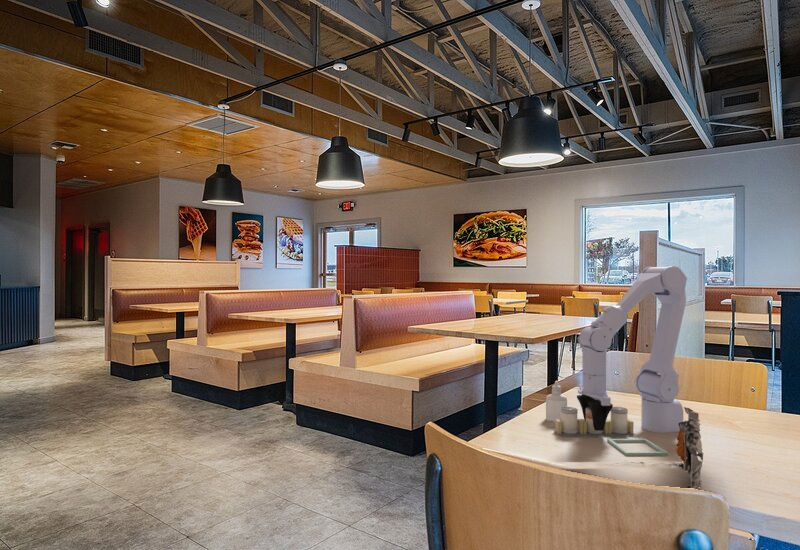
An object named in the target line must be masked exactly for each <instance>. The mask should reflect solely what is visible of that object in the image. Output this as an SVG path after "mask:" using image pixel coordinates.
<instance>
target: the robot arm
mask: <svg viewBox="0 0 800 550" xmlns="http://www.w3.org/2000/svg"><path fill="white" fill-rule="evenodd" d="M687 281H688V277H687V276H686V274H685V273H684V272H683V270H682V269H681V268H680V267H679V266H676V265H671V266H647V267H645V268H644V269H643V270H642V271H641V272H640V273H639V274H638V275H637V277H636V280H635V282H634V283H633V284H632V286H630V288H629V289H628V291H626V292H625V294H624V295H623V296H622V297H621V299H620V300H619V301H618V302H617V303H616V305H609V306H607V307H604V308H603V309H602V313H600V315H599V316H598V317H596V319H595V320H593V321H592V322H591V323H590V326H586V327H584V328H583V329H582V330H581V332H580V333H579V335H578V337H577V342H578V344H579V346H581V353H582V357H581V359H582V363H581V365H582V367H581V369H582V371H581V373H582V375H581V378H582V381H581V382H582V383H581V384H579V390H578V389H577V393H578V395H576V399H577V400H578V402H579V404H580V407H581V410H582V415H583V419H584V420H585V421H586V407H590V409H591V413H592V418H593V426H594V430H596V431H603V430H604V427H605V423H606V419H608V416H609V414H610V413H611V411H610V410H611V409H612V408H613V407H614V405H613V403H611V402H612V401H611V397H610V396H609V394H608V391H607V349H609V348H610V347H611V345H612V343H613V342H612V341H613V337H614V336H615V334H616V333H617V332H618V331H620V329H621V328H622V327H623V326H624V325H625V324H626V323H627V322H628V314H629V312H631V311H632V310H633V309H634V308H635V307H636V306H637V305H638V304H639V303H640V302H641V301H643V300H644V299H645V298H646V297H647V296H648V295H650V294H651V295H653V296H655V297H656V298H657V300H658V301H660V303H661V305H660V310H659V314H658V320H657V324H656V328H655V333H654V336H653V337H654V338H653V341H652V347H651V351H650V355H649V356H650V357H649V360H648V361H646V362H645V363H643V364H642V365H641V369H640V371H639V373H638V374H637V375H636V378H635V381H634V383H635V387H636V390H637V391H638V392H639V396H640V397H641V419H640V420H641V422H640V423H641V428H642V429H644V430H646V431H647V432H648V431H649V432H653V433H661V434H664V433H666V434H667V433H679V431H680V428H679V425H678V423H679V422H684V406H683V405H682V403H681V402H680V401H679V400H678V399H676V398H677V396H678V394H679V393H680V386H679V376H680V374H679V373H678V371H677V370H676V369H675V368H674V366H673V365H674V359H675V355H676V351H677V346H678V341H679V336H680V332H681V328H682V327H681V326H682V322H683V317H684V313H685V308H686V304H687V296H686V286H687Z"/></svg>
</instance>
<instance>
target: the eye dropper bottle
mask: <svg viewBox="0 0 800 550" xmlns="http://www.w3.org/2000/svg"><path fill="white" fill-rule="evenodd" d="M561 407H568V399H567V396H566V395H564V394H562V386H561V385H559V381H558V380H555V381H554V384H553V385H552V386H551V393H550V394H547V395H546V397H545V420H546V421H548V422H555V419H559V420H560V421H561Z"/></svg>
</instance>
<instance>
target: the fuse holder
mask: <svg viewBox="0 0 800 550" xmlns="http://www.w3.org/2000/svg"><path fill="white" fill-rule="evenodd" d="M634 424H635V423H634V421H633V420H632V419H629V418H627V429H628V433H627V434H615V433H612V421H611V419H610V420H609V418H607V419H606V423H605V427H604V430H603V433H602V434H599V435H595V434H589V433H587V422H586V421H585V420H584V418H577V430H578V433H577V434H575V435H569V434H564V433H562V422H561V421H560V420H559V419H555V421H554V425H555V426H553V427H550V429H551V430H552V431H553V432H554V433H556V434H557V436H559V437H560V438H640V437H641V436H640V435H637V433H635V432H634Z"/></svg>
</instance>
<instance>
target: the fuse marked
mask: <svg viewBox="0 0 800 550" xmlns="http://www.w3.org/2000/svg"><path fill="white" fill-rule="evenodd" d="M586 422H587V433H589V434H595V435H599V434H602V433H603V431H596V430H594V426H593V418H592V413H591V409H590V407H586Z"/></svg>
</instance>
